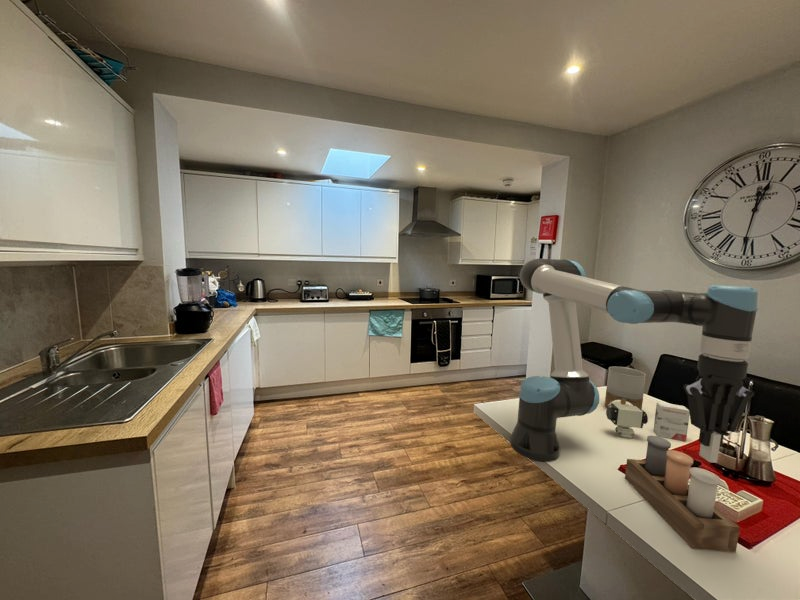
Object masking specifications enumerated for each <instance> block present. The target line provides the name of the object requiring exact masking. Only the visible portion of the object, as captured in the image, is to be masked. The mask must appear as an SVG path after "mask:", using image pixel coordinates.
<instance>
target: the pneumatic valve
mask: <svg viewBox="0 0 800 600" xmlns="http://www.w3.org/2000/svg"><path fill="white" fill-rule="evenodd" d="M605 415H606V418H607V420H609V421H610V422H612V424H613V425H614V426H615V428H614V431H615V434H617V435H619V437H621V438H625V439H626V438H627V439H632V438H633V436H634V435H635V430H634V429H633V428H637V429H643V427H644V426H645V425H647V424H648V422H649V417H648V414H647V412H646V411H645V410H643V408H642V409H640V408H639V407H638V406H633V405H632V404H631V405H630V404H628V403H626V404H624V405H622V404H620V403H612V402H611V403H610V405H609V406H608V408H606V411H605Z"/></svg>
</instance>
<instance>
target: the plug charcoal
mask: <svg viewBox="0 0 800 600" xmlns="http://www.w3.org/2000/svg"><path fill="white" fill-rule="evenodd" d="M646 442H647V447H646V455H645V460H646V461H645V470H646V471H647V472H648V473H649V474H650V475H651V476H660V477H665V472H666V465H667V458H668V457H667V456H666V453H667V451H668V450H670V449H671V448H672V447H671V446H672V443H671V442H670V441H669V440H668V439H667V438H664V437H660V436H657V435H647V437H646Z"/></svg>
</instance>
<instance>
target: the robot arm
mask: <svg viewBox="0 0 800 600" xmlns="http://www.w3.org/2000/svg"><path fill="white" fill-rule="evenodd" d="M519 272H520V273H519V280H520V282H521V285H522V286H523V287H524V288H525V289H526V290H529V291H531V292H534V293H537V294H540V295H541V294H542V295H543V299H544V300H545V301H546V302H547V303H548V311H549V312H548V313H549V321H550V330H551V331H550V332H551V340H552V341H551V342H552V352H553V364H554V370H553V372H552V373H551V374H550V376H544V375H543V376H539V375H536V376H529V377H526V378H524V379H523V380H522V382H521V383H520V389H519V392H518V394H519V395H518V397H519V399H518V413H517V422H516V424H515V426H514V428H513V430H512V433H511V435H510V441H509V442H510V447H511V448H512V449H513V450H514V451H515V452H516V453H517V454H519V455H521V456H523V457H524V458H527V459H530V460H533V461H537V462H552V461H555V460H557V459H559V457H560V452H561V451H560V450H561V449H560V444H559V443H560V442H559V439H558V435H557V432H556V427H557V426H556V425H557V419H561V418H569V417H575V416H577V417H581V416H585V415H587V414H591V413H593V412H594V411H595V410H596V409H597V407H598V406H599V404H600V391H599V389H598V387H597V386H595V383H594V382H593V381H591V380H590V375H589V374H588V373H587V372H586V371H585V370H584V368H583V367H584V366H583V358H582V351H581V350H582V348H581V339H580V329H579V323H578V321H579V320H578V311H577V304H578V305H579V304H580V305H582V306H586V307H587V308H591V309H594V310H597V311H599V312H603V313H605V314H608V315H609V316H610V317H611V318H612V319H613V320H615V321H616V322H617V323H623V324H624V323H625V324H631V325H636V324H637V325H638V324H646V323H647V324H650V323H679V324H686V325H695V326H700V327H701V326H702V331H701V338H700V344H699V345H700V346H699V352H700V353H701V354H699V355H698V359H697V365H696V366H697V367H696V368H697V370H698V373H699V374H698V375H697V377H696V378H695V382H693V383H691V384H687V383H685V384H683V390H684V391H685V393H686V396H687V405H688V410H689V413H690V415H689V421H690V424H691V425H692V426H694V427H696V428H697V429H699V436H698V442H699V444H700V446H699V447H700V449H699V456H700V457H701V458H703V459H704V460H705V461H707V462H709V463H715V464H718V459H719V452H720V448H721V447H722V446H723V441H724V436H725V437H730V435H731V434H730V433H729V432H731V433H734V432H736V431H737V428H738V426H739V423H740V421H741V418H742V416H743V414H744V412H745V409H746V407H747V405H748V402H749V401H750V400H752V398H753V397H754V396H755V392H754V391H752V390H750V389H748V388H746V387H745V386H744V382H743V380H744V379H746V378H747V372H748V367H749V366H748V365H749V362H747V361H746V360H748V359H749V358H750V353H751V352H750V351H751V346H752V340H753V332H754V326H755V322H756V321H755V320H756V314H757V312H758V310H759V309H758V294H759V293H758V291H757V289H756V288H753V287H751V286H739V285H738V286H737V285H736V286H734V285H715V284H714V285H710V286H708V289H707V291H706V292H698V293H697V292H691V291H689V292H688V291H679V290H676V291H675V290H671V289H667V290H666V289H662V290H659V289H657V290H641V289H636V288H633V287H629V286H628V287H627V286H624V285H620V284H616V283H610V282H607V281H602V280H598V279H595V278H590V277H587V276H586V272H585V270H584V268H583V266H582V265H581V264H580V263H578V262H577V261H574V260H571V259H570V260H569V259H564V258H562V259H560V258H559V259H558V258H557V259H555V258H554V259H553V258H535V259H532V260H531V259H530V260H529V261H527V262H526V263H525V264H524V265H523V266H522V268H521V270H520V271H519Z"/></svg>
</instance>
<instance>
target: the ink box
mask: <svg viewBox="0 0 800 600" xmlns="http://www.w3.org/2000/svg"><path fill="white" fill-rule="evenodd" d="M654 414H655V415H654V421H653V422H654V424H653V432H654V434H655V436H657V437H661V438H664V439H670V440H674V441H675V440H676V441H680V442H684V443H685V442H687V436H688V429H689V423H690V422H689V421H690V413H689V408H688V407H686V406H684V405H679V404H673V403H668V402H661V401H656V405H655V413H654Z"/></svg>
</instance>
